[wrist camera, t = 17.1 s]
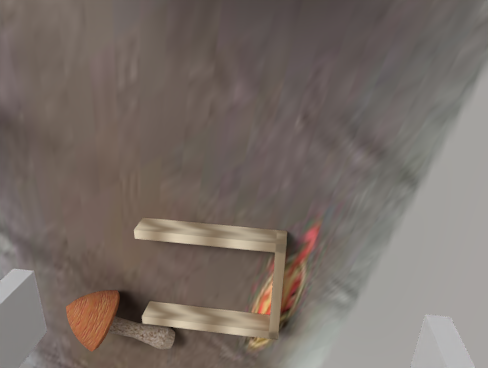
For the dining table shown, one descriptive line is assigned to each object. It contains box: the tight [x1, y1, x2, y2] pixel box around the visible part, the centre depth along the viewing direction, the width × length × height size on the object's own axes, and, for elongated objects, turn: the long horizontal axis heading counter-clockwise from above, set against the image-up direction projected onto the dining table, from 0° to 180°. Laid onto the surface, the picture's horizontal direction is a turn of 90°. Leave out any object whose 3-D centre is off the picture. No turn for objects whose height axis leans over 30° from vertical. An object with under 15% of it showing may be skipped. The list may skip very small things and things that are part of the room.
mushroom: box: [66, 290, 175, 351], centre depth 53 cm, size 8×8×15 cm
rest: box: [134, 218, 287, 340], centre depth 51 cm, size 18×14×3 cm
